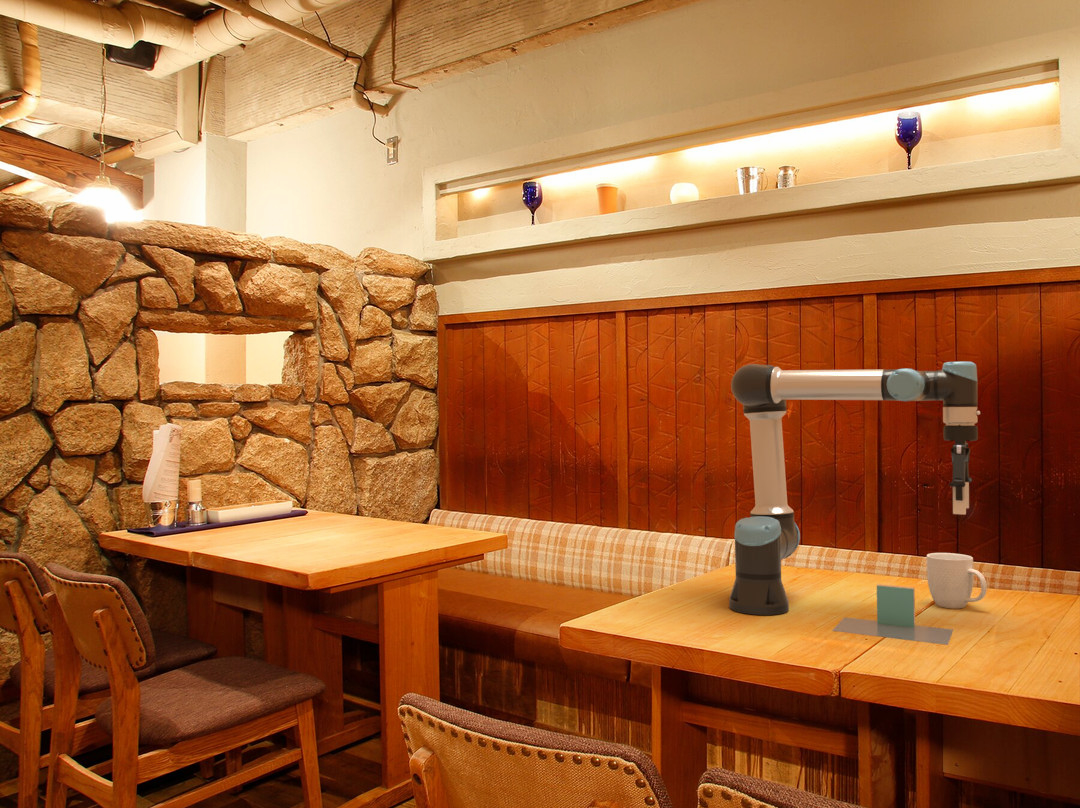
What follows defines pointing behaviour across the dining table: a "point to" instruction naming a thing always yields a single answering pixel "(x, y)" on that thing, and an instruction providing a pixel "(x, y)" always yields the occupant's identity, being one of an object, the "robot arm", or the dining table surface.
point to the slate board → (894, 631)
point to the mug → (952, 579)
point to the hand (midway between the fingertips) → (961, 511)
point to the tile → (896, 605)
